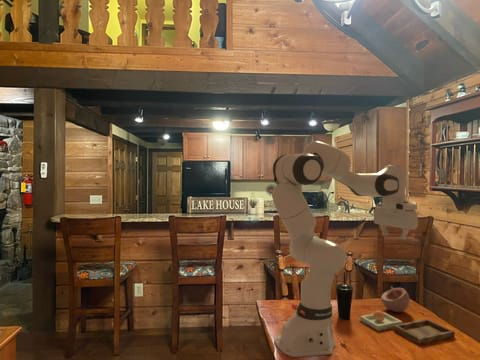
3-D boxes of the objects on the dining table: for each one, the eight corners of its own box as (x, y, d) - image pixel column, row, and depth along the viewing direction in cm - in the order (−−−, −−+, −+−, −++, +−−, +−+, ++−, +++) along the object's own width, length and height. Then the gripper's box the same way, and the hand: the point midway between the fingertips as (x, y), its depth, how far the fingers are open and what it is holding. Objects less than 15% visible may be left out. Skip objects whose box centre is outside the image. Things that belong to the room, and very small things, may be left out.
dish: (419, 345, 117) (419, 339, 117) (394, 330, 128) (394, 325, 128) (454, 337, 123) (454, 331, 123) (426, 324, 134) (427, 319, 134)
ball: (388, 320, 134) (384, 309, 136) (380, 321, 132) (376, 310, 134) (381, 321, 137) (378, 310, 139) (373, 322, 136) (370, 311, 138)
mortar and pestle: (377, 305, 154) (377, 282, 154) (402, 306, 153) (402, 282, 154) (387, 316, 142) (387, 290, 142) (414, 317, 141) (414, 291, 142)
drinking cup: (354, 322, 136) (354, 275, 136) (336, 320, 138) (336, 274, 138) (352, 314, 143) (352, 270, 144) (334, 313, 145) (334, 269, 145)
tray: (377, 331, 128) (377, 326, 128) (360, 320, 137) (360, 316, 137) (402, 326, 132) (402, 321, 132) (383, 316, 142) (383, 312, 142)
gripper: (370, 202, 141) (369, 233, 141) (408, 206, 122) (408, 242, 122) (381, 202, 143) (381, 233, 143) (420, 205, 124) (420, 241, 124)
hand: (394, 237), depth 132 cm, fingers open, 8 cm apart
